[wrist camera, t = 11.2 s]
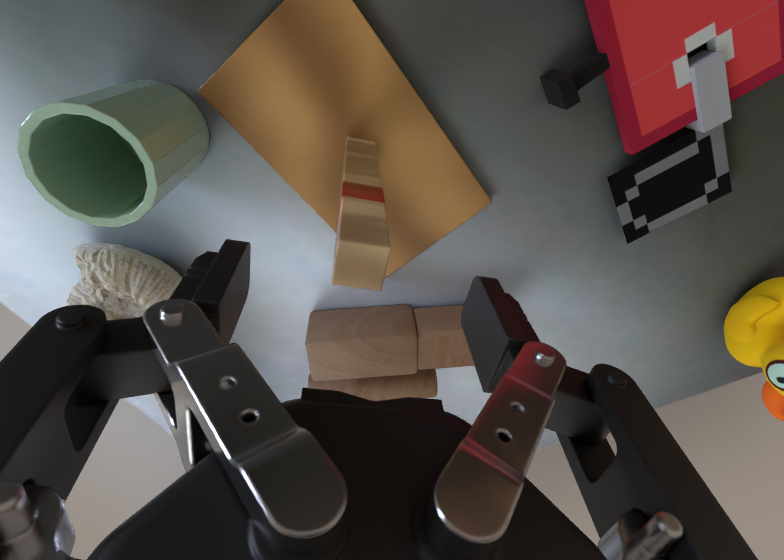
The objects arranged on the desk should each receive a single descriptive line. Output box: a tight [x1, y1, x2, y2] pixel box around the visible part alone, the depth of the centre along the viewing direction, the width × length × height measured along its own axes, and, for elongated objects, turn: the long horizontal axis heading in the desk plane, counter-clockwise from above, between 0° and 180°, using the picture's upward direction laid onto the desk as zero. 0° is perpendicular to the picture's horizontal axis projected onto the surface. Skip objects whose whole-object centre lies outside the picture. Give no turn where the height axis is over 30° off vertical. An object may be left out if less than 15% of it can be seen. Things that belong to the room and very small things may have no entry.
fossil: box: [67, 243, 182, 320], centre depth 33 cm, size 11×4×10 cm
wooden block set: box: [305, 304, 475, 401], centre depth 39 cm, size 17×6×18 cm
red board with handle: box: [540, 0, 784, 244], centre depth 25 cm, size 30×3×15 cm
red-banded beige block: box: [332, 137, 391, 291], centre depth 23 cm, size 2×2×16 cm
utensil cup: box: [17, 79, 209, 227], centre depth 24 cm, size 6×6×9 cm
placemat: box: [198, 0, 492, 279], centre depth 29 cm, size 11×19×1 cm, turn 38°
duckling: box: [724, 277, 784, 421], centre depth 37 cm, size 11×5×10 cm, turn 174°
